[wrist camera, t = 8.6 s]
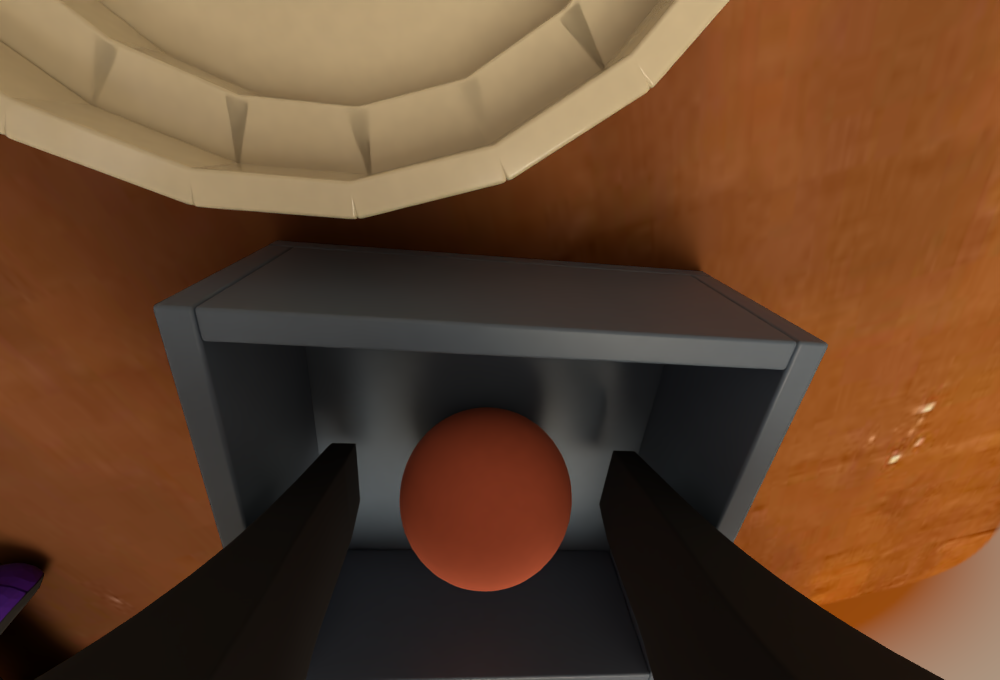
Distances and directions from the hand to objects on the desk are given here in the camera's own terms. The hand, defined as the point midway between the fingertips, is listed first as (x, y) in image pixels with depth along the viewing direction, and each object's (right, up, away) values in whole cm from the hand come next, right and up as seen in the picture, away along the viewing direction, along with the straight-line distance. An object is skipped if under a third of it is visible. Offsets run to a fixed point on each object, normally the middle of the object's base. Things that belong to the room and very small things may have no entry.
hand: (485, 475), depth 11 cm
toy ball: (0, +1, +1) cm, 2 cm away
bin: (0, +1, +2) cm, 2 cm away
